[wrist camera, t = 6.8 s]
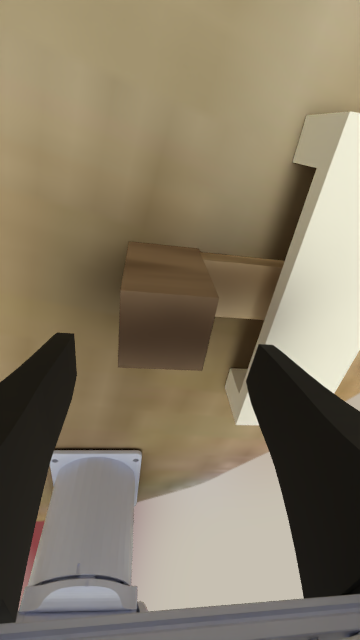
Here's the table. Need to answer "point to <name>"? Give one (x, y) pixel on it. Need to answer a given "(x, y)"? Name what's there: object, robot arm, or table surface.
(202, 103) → the table surface
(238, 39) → the table surface
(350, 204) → the shelf
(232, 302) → the brown wooden mallet
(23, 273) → the table surface
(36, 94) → the table surface
